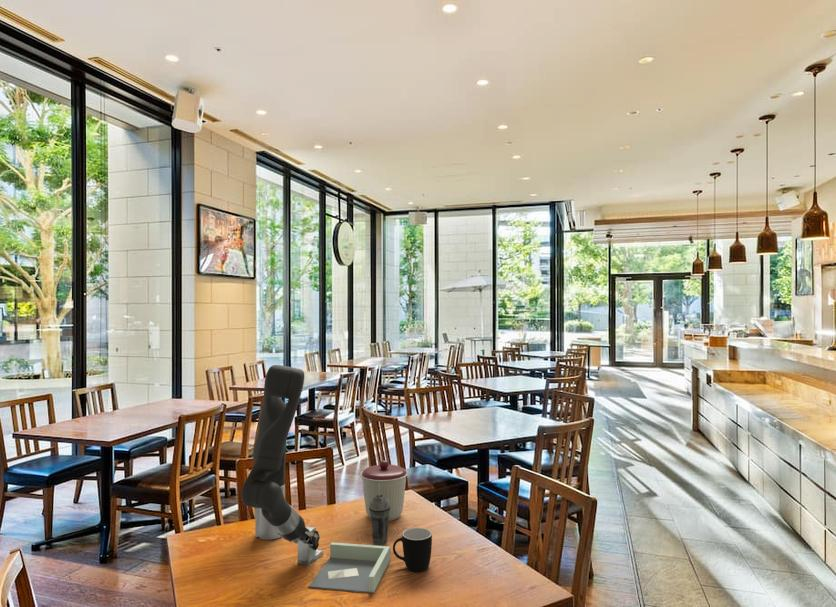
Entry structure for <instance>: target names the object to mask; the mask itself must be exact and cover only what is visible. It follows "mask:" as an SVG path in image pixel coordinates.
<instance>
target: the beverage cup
mask: <svg viewBox="0 0 836 607" xmlns="http://www.w3.org/2000/svg"><path fill="white" fill-rule="evenodd" d="M378 494H379V495H377V496H375V497H374V498H373V499H372V500H371V502H370V507H369V510H370V515H371V519H370V522H371V523H370V524H371V534H372V542H373V545H376V546H385V545H386V544H387V543H388V535H389V534H388V531H389V522H390V521H389V513H390V508H391V507H390V503H389V500H388V499H387V498H386V497H385V496H383V495H380V483H378Z"/></svg>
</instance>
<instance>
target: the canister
mask: <svg viewBox="0 0 836 607" xmlns="http://www.w3.org/2000/svg"><path fill="white" fill-rule="evenodd" d="M359 475H360V478H361V481H362V489H363V490H362V492H363V498H364V505H365V513H366V514H367V517H368V518H369V519H370V520H371V515H370V510H369V507H370V502H371V500H372V499H373V498H374V497H375V496H377V495H379V494H378V483H380V495H383V496H385V497H386V498H387V499H388V500H389V503H390V507H391V508H390V513H389V521H388V522H392V521H395V520H397V519H398V518H400V517H401V515H402V513H403V510H404V502H405V490H406V482H407V476H408V475H409V471H408V470H407V469H406V468H404V467H401V466H399V465H395V464H389V462H388V460H386V459H385V460H383V459H382V460H380V462H379V464H377V465H376V464H375V465H371V466H368V467H366V468H365V469H364V470H362V471H360V473H359Z"/></svg>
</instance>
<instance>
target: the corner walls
mask: <svg viewBox="0 0 836 607" xmlns="http://www.w3.org/2000/svg"><path fill="white" fill-rule="evenodd" d="M329 558H342V559H355V560H368V561H377V562H376V564H375V566H374V568H373V570H372V571H371V573H370V575H369V593H368V594H375V592H376V591H377V589H376V587H377V585H378V583H379V582H380V583H381V581H382V579H381V578H383V577H382V575H383V573H384V574H385V572H386V571H387V569H386V567H387V565H388V563H389V561H390V562H391V546H390V545H389V546H388V545H387V546H385V545H375V544H360V543H347V542H333V541H332V542H330V544H329ZM389 564H390V563H389ZM388 566H389V565H388ZM387 568H388V567H387ZM385 569H386V570H385ZM384 571H385V572H384ZM383 576H384V575H383ZM380 579H381V580H380ZM380 583H379V584H380ZM378 586H379V585H378ZM377 588H378V587H377ZM375 590H376V591H375ZM374 591H375V592H374ZM370 592H371V593H370ZM372 592H373V593H372Z"/></svg>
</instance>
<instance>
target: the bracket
mask: <svg viewBox="0 0 836 607" xmlns="http://www.w3.org/2000/svg"><path fill="white" fill-rule="evenodd" d="M305 527H306V528H307V529H308V530H309V531H310V532H312V533H313V532H314V531H317V530H316V529H317V528H316V527H313V526H306V525H305ZM310 540H311V538H310ZM310 540H309V541H310ZM296 544H297V565H298V564H299V565H303V566H308V567H309V566H310V565H311V564H313V563H314V562H315V561H317V560H318V559H319V558H320V557H321V556H323V555H324V554H323V553H324V552H323V550H322V549H317V550H313V548H312V547H311V546H310V545H308V544H304V543H303V542H301V541H299V540H297V543H296Z"/></svg>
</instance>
